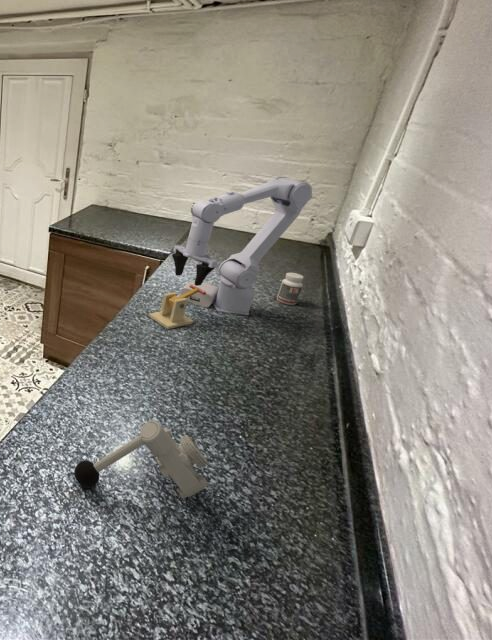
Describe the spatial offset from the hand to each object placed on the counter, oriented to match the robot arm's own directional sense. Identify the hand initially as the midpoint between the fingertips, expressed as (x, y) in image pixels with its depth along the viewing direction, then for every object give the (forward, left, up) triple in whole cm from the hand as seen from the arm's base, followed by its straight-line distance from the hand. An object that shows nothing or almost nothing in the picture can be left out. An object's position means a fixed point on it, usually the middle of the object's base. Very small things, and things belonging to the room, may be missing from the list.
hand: (187, 279), depth 126 cm
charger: (-9, -11, -11) cm, 18 cm away
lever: (+1, +7, -4) cm, 8 cm away
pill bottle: (-37, -16, -11) cm, 42 cm away
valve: (+22, +71, -11) cm, 75 cm away
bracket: (+5, +9, -11) cm, 15 cm away
